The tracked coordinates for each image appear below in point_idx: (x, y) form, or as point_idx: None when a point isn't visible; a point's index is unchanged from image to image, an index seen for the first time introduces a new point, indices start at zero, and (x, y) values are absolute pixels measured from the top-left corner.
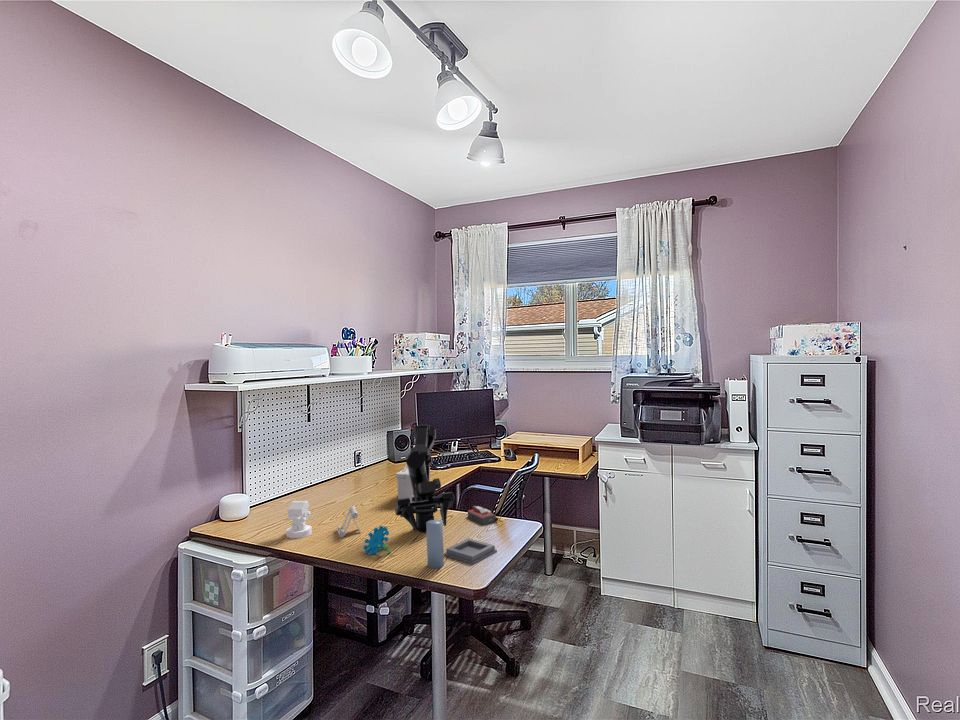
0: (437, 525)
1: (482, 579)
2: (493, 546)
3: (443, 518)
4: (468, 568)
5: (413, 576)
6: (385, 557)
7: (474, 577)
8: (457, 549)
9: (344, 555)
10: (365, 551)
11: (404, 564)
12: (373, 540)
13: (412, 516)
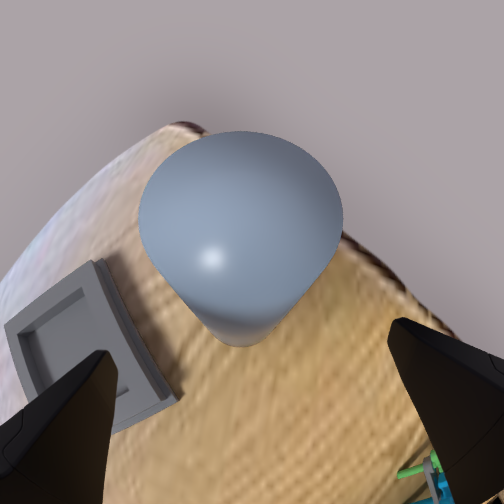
0: (227, 138)
1: (135, 159)
2: (8, 323)
3: (84, 402)
4: (132, 235)
5: None
6: (419, 435)
7: (147, 173)
8: None
9: None
10: None
11: (366, 358)
12: None
13: (497, 372)
